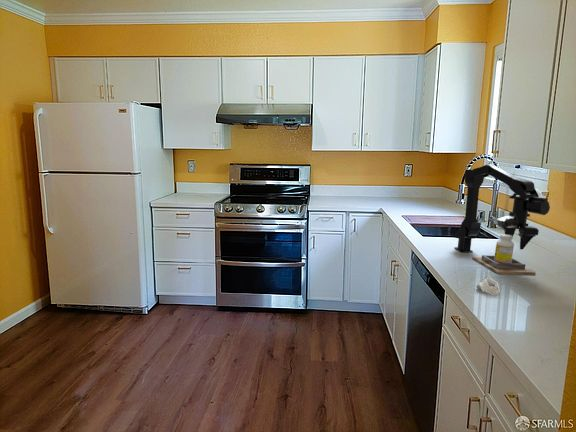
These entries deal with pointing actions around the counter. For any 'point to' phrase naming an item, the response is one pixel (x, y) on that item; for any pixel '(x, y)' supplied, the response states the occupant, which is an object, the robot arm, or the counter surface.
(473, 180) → the robot arm
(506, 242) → the supplement bottle
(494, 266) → the holder board
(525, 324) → the counter surface
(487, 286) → the whipped cream
